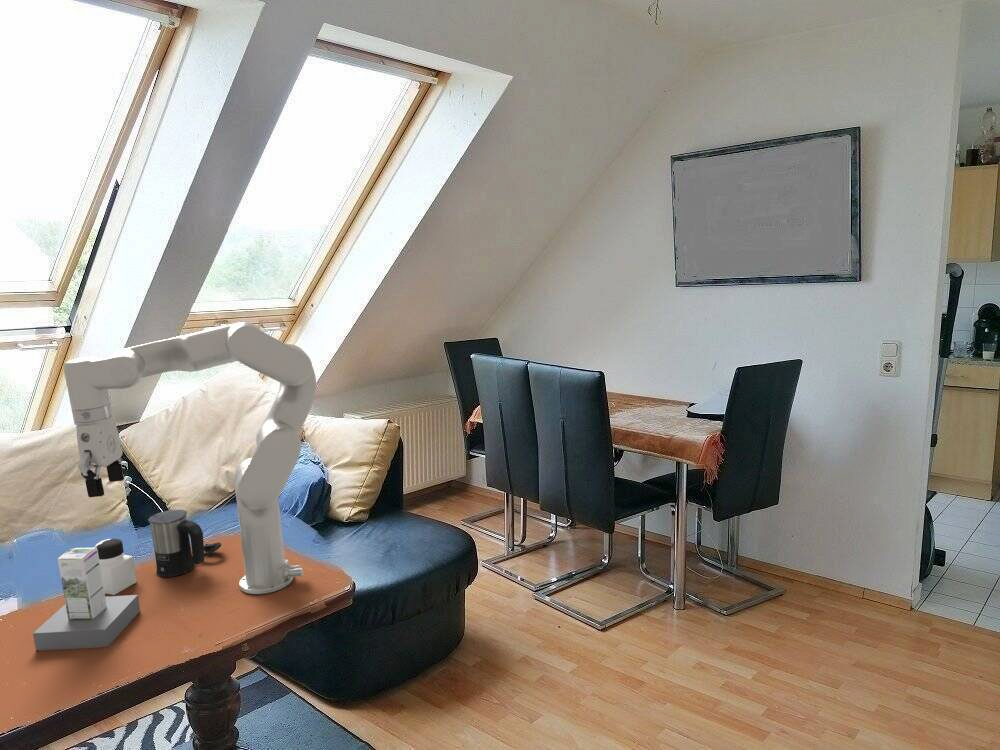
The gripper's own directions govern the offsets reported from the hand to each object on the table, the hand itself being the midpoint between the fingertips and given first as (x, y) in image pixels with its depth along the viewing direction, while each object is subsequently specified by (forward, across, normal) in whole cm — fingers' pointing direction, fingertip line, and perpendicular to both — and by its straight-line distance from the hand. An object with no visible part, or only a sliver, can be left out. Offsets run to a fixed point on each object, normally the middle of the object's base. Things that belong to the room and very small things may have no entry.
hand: (107, 488), depth 164 cm
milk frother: (+31, +24, -5) cm, 39 cm away
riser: (+30, -8, +5) cm, 31 cm away
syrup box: (+26, -8, +5) cm, 28 cm away
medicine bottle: (+30, +13, +9) cm, 34 cm away
